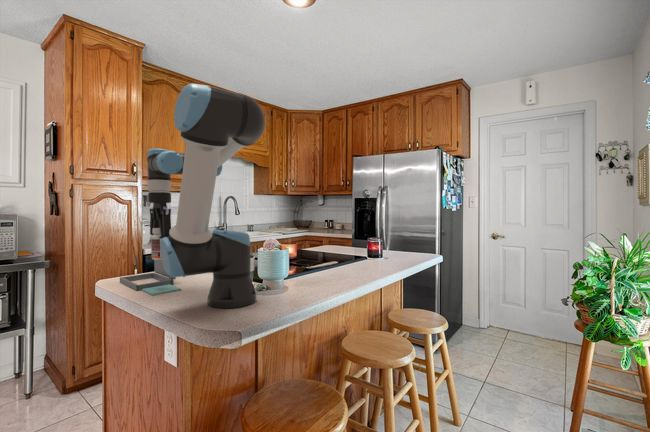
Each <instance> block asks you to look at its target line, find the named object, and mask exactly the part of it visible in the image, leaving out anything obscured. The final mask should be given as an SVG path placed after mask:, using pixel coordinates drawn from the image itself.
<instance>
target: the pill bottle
mask: <svg viewBox="0 0 650 432" xmlns="http://www.w3.org/2000/svg"><path fill="white" fill-rule="evenodd" d="M152 233H154V235H153V236H152V235H151V238H150V243H151V244H150V246H151V248H150V249H151V250H150V251H151V260H153V261H154V260H162V258H161V257H160V239H159V237H160V236H161V233H160V228H153V229H152Z"/></svg>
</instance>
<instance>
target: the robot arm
mask: <svg viewBox="0 0 650 432" xmlns="http://www.w3.org/2000/svg"><path fill="white" fill-rule="evenodd" d="M173 112H174V113H173V116H174V120H173V122H174V128H176V130H177V131H180V138H181V139H182V141H183V142H184V143H185V149H184V153H183V152H177V151H176V150H168V149H164V148H150V149H148V150H147V157H146V161H147V163H146V165H147V191H148V194H147V202H148V203H149V204H153V205H152V206H153V207H152V208H149V216H150V217H149V235H151V237H152V236H153V235H154V233H152V229H153V228H160V233H161V236H160V237H159V239H160V257H161V258H162V263H163V266H164V269H165V271H166V273H167V274H168V275H169V276H170V277H176V278H179V277H180V278H182V277H183V278H185V277H189V276H195V275H203V274H210V273H212V275H213V276H212V277H213V278H212V281H211V282H212V283H211V285H210V290H209V292H208V296H207V304H208V306H209V307H212V308H216V309H234V308H235V309H236V308H243V307H246V306H249V305H252V304H254V303H256V301H257V292H256V290H255V285H254V283H253V281H252V277H251V246H252V245H251V237H250V235H249V233H247V232H246V231H245V232H243V231H236V230H235V231H234V230H225V229H223V230H222V229H213V230H212V231H211V230H210V229H209V224H210V218H211V212H212V206H213V205H212V204H213V200H214V192H215V187H216V179H217V177H219V176H220V175H221V174H222V171H223V165H224V164H225V163H226V162H228V160H230V159H231V158H232V157H234V155H236V154H237V153H238V152H239V151H241V150H242V149H243V148H244V147H251V146H252V145H253V144H255V143H256V142H258V141H259V139H261V137H262V135H263V133H264V131H265V128H266V118H265V114H264V113H265V112H264V110H263V108H262V107H261V105H260V104H259V102H257V100H255V99H254V98H252V97H251V96H249V95H247V94H244V93H239V92H233V91H231V90H226V89H223V88H218V87H214V86H210V85H208V84H207V85H206V84H199V83H188V84H187V85H185V86H184V87H183V88H182V89H181V90H180V92H179V95H178V96H177V100H176V102H175V106H174V111H173ZM172 175H175V176H176V175H179V176H181V182H180V190H179V199H178V208H177V214H176V215H177V216H176V222H175V223H176V224H175V225H173V226H172V220H171V219H172V218H171V217H172V216H171V215H172V214H171V213H172V209H171V208H168V204H170V203H171V202H172V193H171V190H172V189H171V188H172V184H173V183H171V179H172V178H171V177H172Z"/></svg>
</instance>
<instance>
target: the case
mask: <svg viewBox="0 0 650 432" xmlns="http://www.w3.org/2000/svg"><path fill="white" fill-rule="evenodd" d="M153 261H154V264H153V265H154V272H151V273H150V272H148V273H143V274H135V275H128V276H122V277H119V283H120V284H121V285H124V286H126V287H128V288H130V289H131V290H134V291H136V292H140V291H142V289H145V288H151V287H157V286H163V285H169V284H171V285H173V286H174V280H176V278H177V277H170V276H169V275H168V274H167V273H166V271H165V269H164V266H163V263H162V260H153ZM147 279H154V280H158V281H155V282H154V281H152V282H148V283H142V284H138V283H135V281H141V280H147Z"/></svg>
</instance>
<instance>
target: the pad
mask: <svg viewBox="0 0 650 432" xmlns="http://www.w3.org/2000/svg"><path fill="white" fill-rule="evenodd" d="M141 291H142V292H144V293H146V294H148V295H150V296H152V295H153V296H157V295H158V294H159V295H164V294H168V293H169V294H170V293H174V292H179V291H182V288H181V287H177V286H176V285H174V284H173V285H171V284H169V285H163V286H157V287H151V288H145V289H142V290H141ZM163 293H164V294H163Z"/></svg>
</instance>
